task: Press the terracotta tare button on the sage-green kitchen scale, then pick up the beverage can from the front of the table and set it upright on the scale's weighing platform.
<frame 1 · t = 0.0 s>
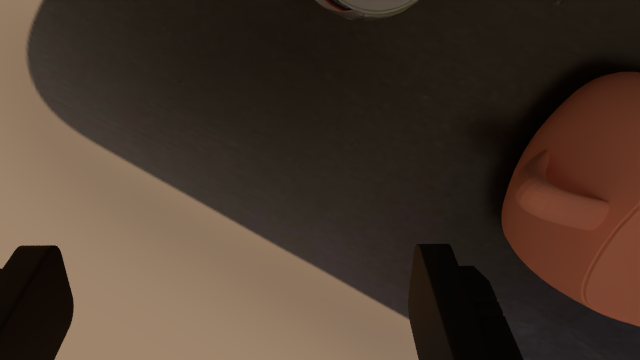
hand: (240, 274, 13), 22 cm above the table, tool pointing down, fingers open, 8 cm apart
teapot: (602, 161, 38), on the table
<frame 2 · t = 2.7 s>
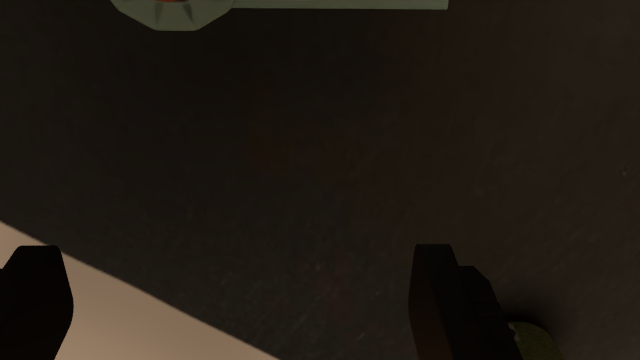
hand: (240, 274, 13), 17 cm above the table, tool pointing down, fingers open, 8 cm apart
beverage can: (503, 337, 38), on the table
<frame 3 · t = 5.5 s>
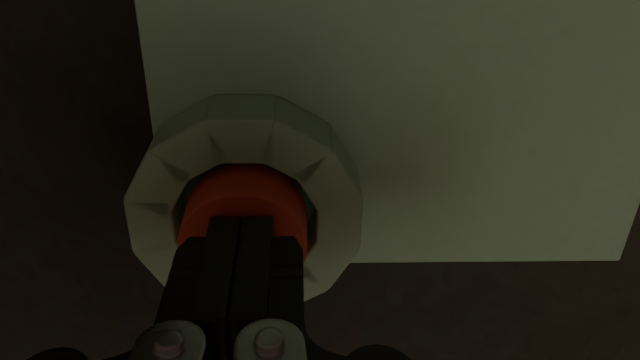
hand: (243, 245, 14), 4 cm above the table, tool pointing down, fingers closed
tare button: (245, 230, 15), point 4 cm above the table, slide at -0.1 cm, touching gripper
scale: (407, 54, 17), on the table
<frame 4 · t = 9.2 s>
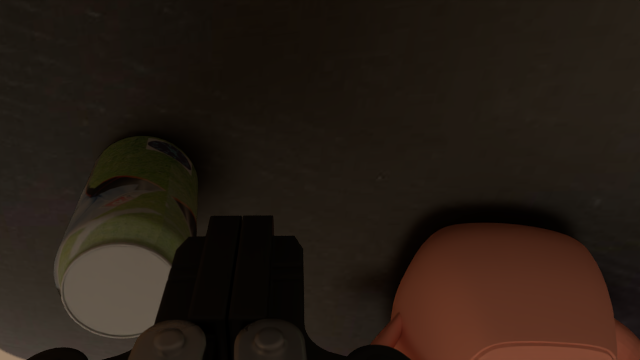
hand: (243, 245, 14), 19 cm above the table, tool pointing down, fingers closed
beverage can: (159, 167, 35), on the table
teapot: (486, 279, 40), on the table
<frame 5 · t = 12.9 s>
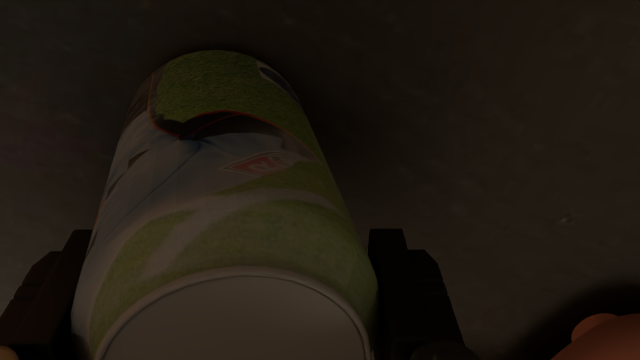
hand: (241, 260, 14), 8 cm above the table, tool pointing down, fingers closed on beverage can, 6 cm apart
beverage can: (241, 117, 20), on the table, touching gripper
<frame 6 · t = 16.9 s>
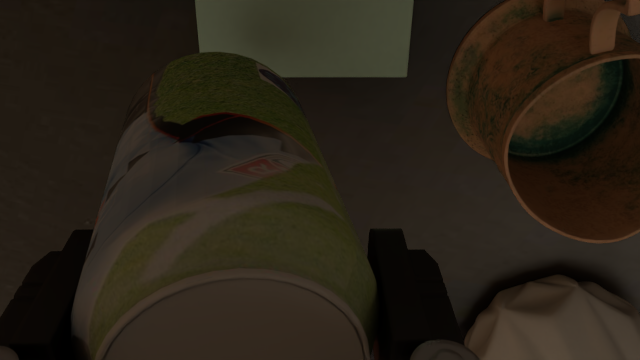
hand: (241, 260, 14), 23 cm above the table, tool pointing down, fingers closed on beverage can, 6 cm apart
vase: (536, 324, 47), on the table
beverage can: (241, 118, 20), point 15 cm above the table, touching gripper
mug: (535, 34, 35), on the table
when the fingers open (10 cm above the table, at t = 20.9 s): beverage can stays where it is, resting on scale.
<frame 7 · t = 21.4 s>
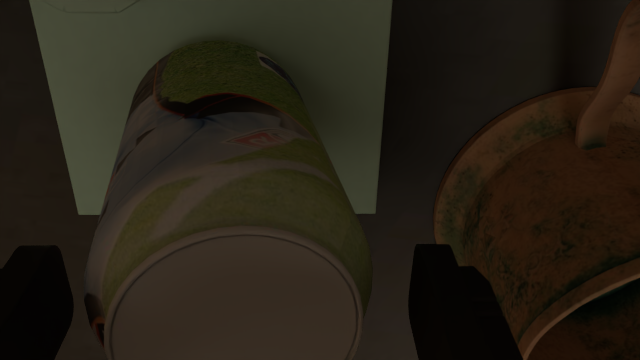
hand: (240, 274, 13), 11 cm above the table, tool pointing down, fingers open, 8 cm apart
beverage can: (242, 106, 21), point 2 cm above the table, touching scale
mug: (558, 147, 25), on the table
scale: (222, 30, 22), on the table
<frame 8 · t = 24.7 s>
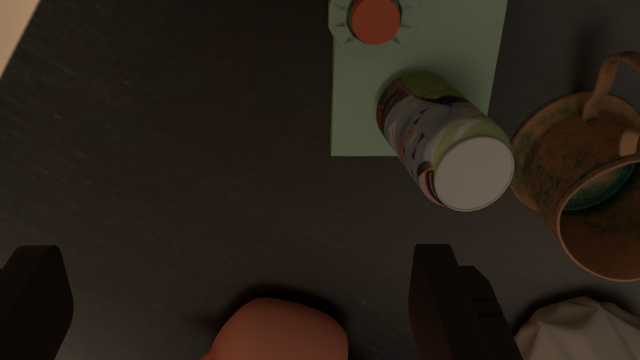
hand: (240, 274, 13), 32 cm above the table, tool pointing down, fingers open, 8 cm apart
tare button: (374, 18, 39), point 4 cm above the table, slide at 0.1 cm
vase: (565, 334, 60), on the table
beverage can: (421, 101, 44), point 2 cm above the table, touching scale
mug: (573, 122, 48), on the table
teapot: (285, 335, 59), on the table
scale: (410, 63, 44), on the table
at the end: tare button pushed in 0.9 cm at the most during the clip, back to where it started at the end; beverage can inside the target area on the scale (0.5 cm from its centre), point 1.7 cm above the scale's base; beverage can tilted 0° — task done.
